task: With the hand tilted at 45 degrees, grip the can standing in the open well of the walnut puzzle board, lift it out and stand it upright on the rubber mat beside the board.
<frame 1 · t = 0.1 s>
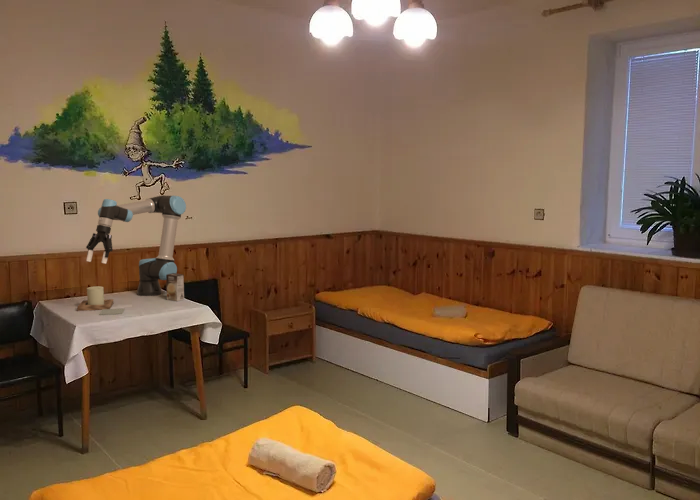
hand: (96, 262, 349), 28 cm above the table, tool tilted 20°, fingers open, 13 cm apart
puzzle board: (96, 307, 361), on the table
coffee box: (175, 300, 383), on the table
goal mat: (112, 312, 348), on the table
can: (96, 307, 361), resting in puzzle board
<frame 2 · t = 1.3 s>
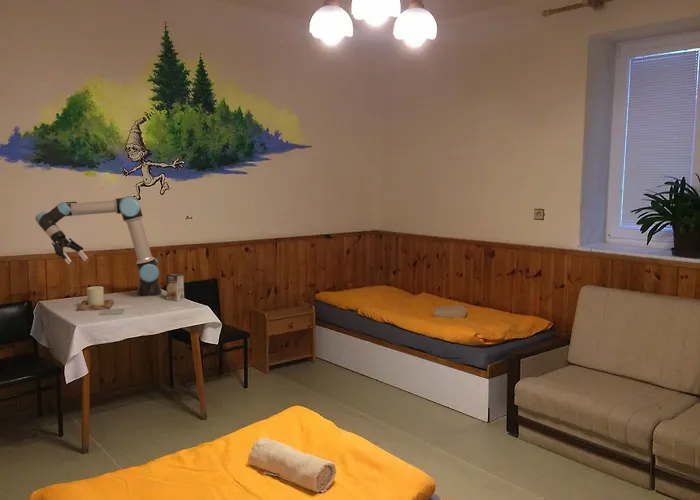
hand: (78, 261, 360), 27 cm above the table, tool tilted 45°, fingers open, 13 cm apart
nothing on the table moved.
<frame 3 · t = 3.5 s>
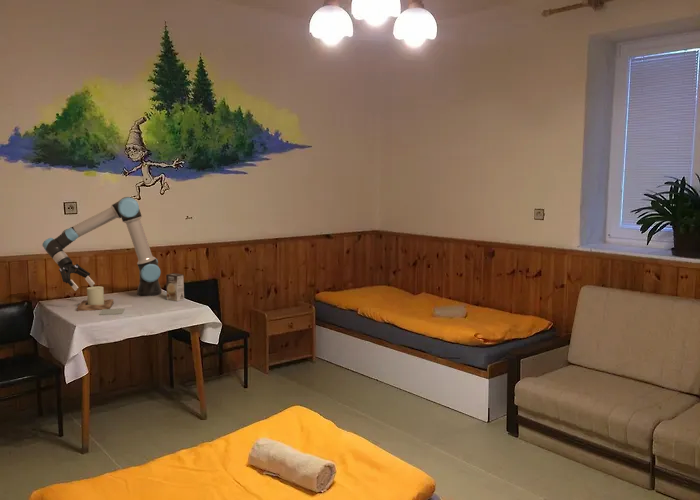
hand: (85, 287, 361), 11 cm above the table, tool tilted 45°, fingers open, 13 cm apart
nothing on the table moved.
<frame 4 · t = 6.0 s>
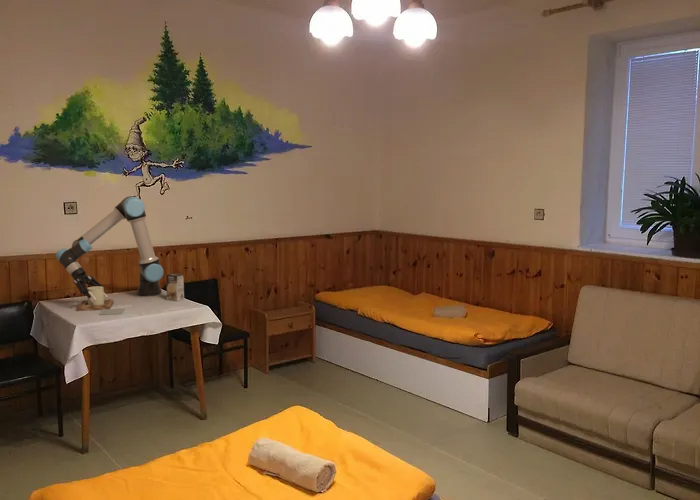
hand: (100, 299, 359), 5 cm above the table, tool tilted 45°, fingers closed on can, 9 cm apart
can: (96, 307, 361), resting in puzzle board, touching gripper
everything else where it was.
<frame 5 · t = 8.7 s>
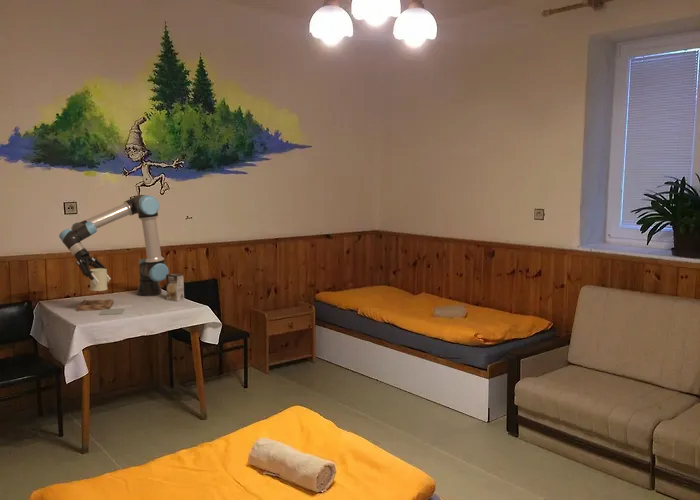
hand: (103, 282, 351), 16 cm above the table, tool tilted 45°, fingers closed on can, 9 cm apart
can: (98, 289, 352), point 12 cm above the table, touching gripper
everything else where it was.
when the fingers open (7 cm above the table, at t = 11.7 s): can drops 1 cm, resting on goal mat.
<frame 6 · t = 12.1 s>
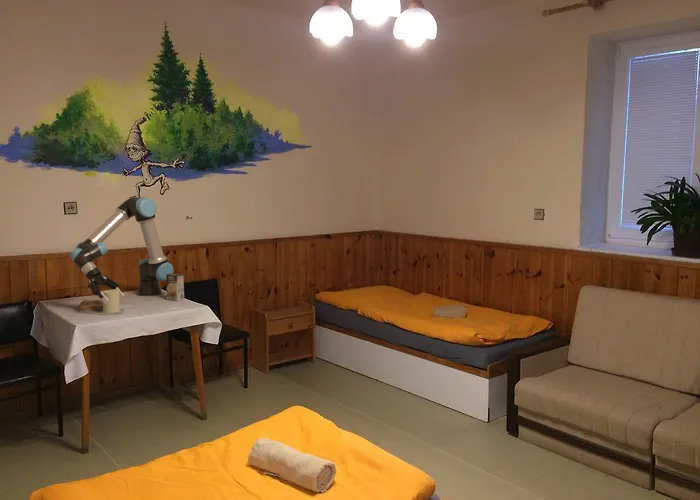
hand: (115, 299, 346), 7 cm above the table, tool tilted 45°, fingers open, 13 cm apart
can: (111, 311, 348), resting on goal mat
everything else where it was.
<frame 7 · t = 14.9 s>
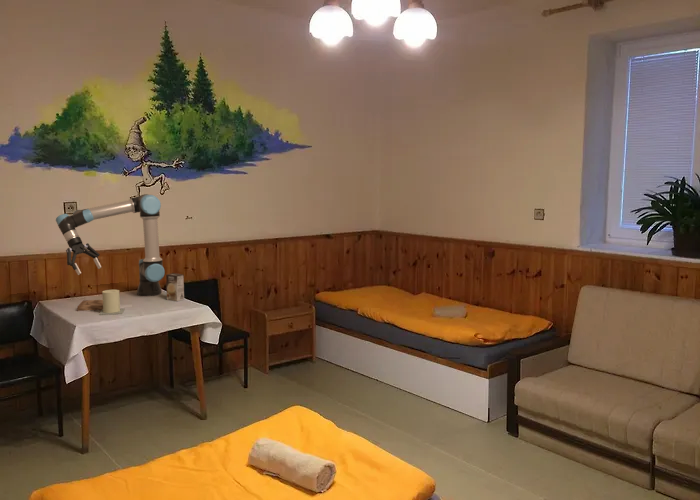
hand: (90, 271, 357), 21 cm above the table, tool tilted 30°, fingers open, 13 cm apart
nothing on the table moved.
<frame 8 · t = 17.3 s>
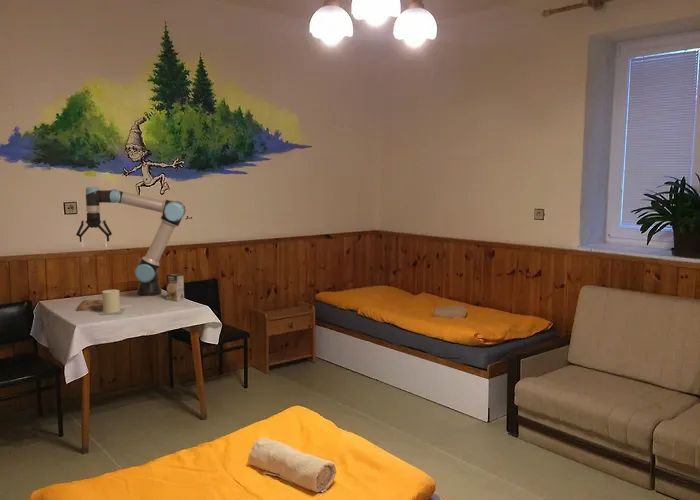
hand: (94, 247, 378), 33 cm above the table, tool pointing down, fingers open, 13 cm apart
nothing on the table moved.
at the end: can inside the target area on the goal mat (0.2 cm from its centre), point 0.4 cm above the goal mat's base; can tilted 0°; the gripper is holding nothing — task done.
